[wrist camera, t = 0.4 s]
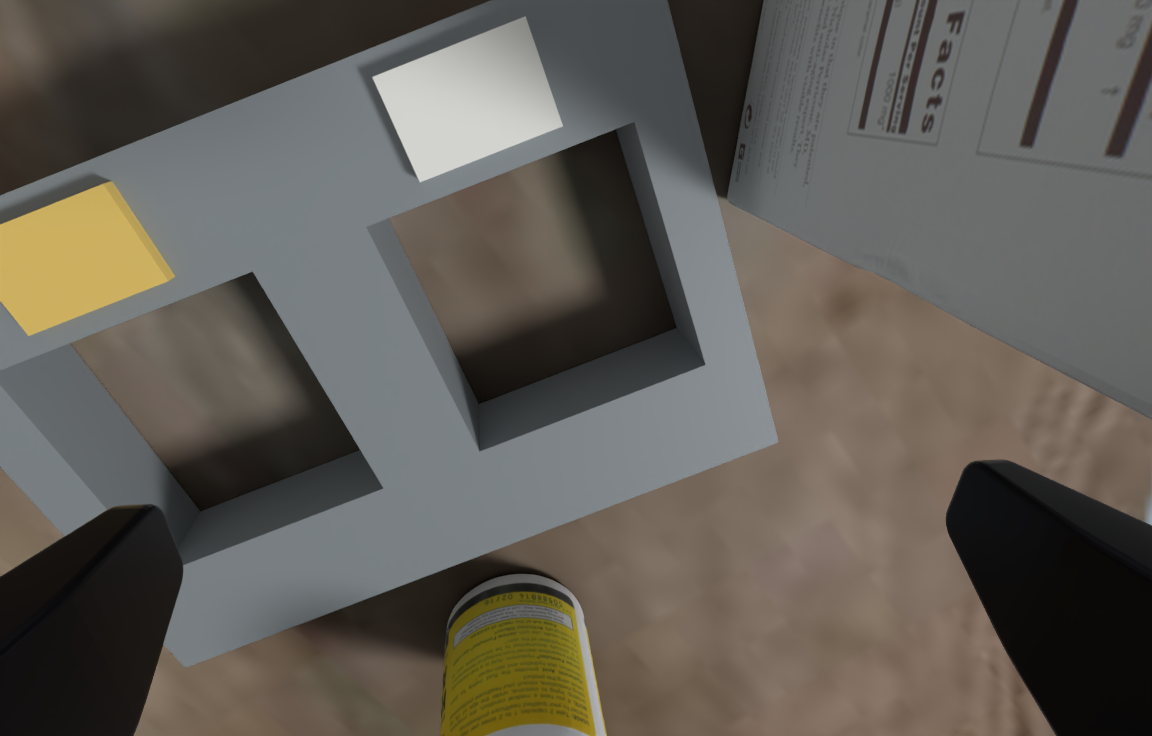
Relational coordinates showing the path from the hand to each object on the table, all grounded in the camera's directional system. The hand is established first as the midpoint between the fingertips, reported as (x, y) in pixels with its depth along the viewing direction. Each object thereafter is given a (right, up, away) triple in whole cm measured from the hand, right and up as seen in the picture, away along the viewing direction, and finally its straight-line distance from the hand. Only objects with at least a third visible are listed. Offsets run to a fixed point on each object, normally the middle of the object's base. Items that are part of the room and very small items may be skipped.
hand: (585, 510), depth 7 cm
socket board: (-6, +3, +13) cm, 14 cm away
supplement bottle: (-3, -8, +19) cm, 21 cm away
